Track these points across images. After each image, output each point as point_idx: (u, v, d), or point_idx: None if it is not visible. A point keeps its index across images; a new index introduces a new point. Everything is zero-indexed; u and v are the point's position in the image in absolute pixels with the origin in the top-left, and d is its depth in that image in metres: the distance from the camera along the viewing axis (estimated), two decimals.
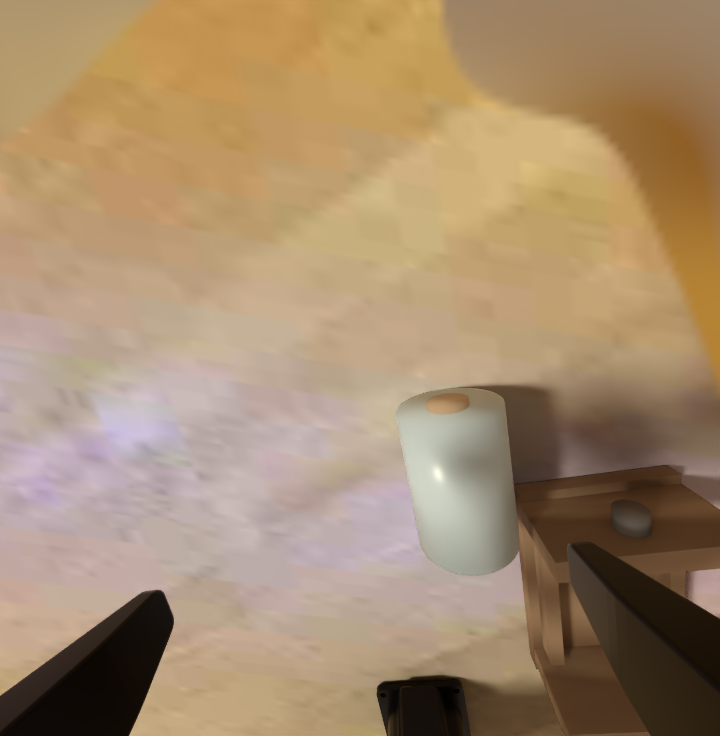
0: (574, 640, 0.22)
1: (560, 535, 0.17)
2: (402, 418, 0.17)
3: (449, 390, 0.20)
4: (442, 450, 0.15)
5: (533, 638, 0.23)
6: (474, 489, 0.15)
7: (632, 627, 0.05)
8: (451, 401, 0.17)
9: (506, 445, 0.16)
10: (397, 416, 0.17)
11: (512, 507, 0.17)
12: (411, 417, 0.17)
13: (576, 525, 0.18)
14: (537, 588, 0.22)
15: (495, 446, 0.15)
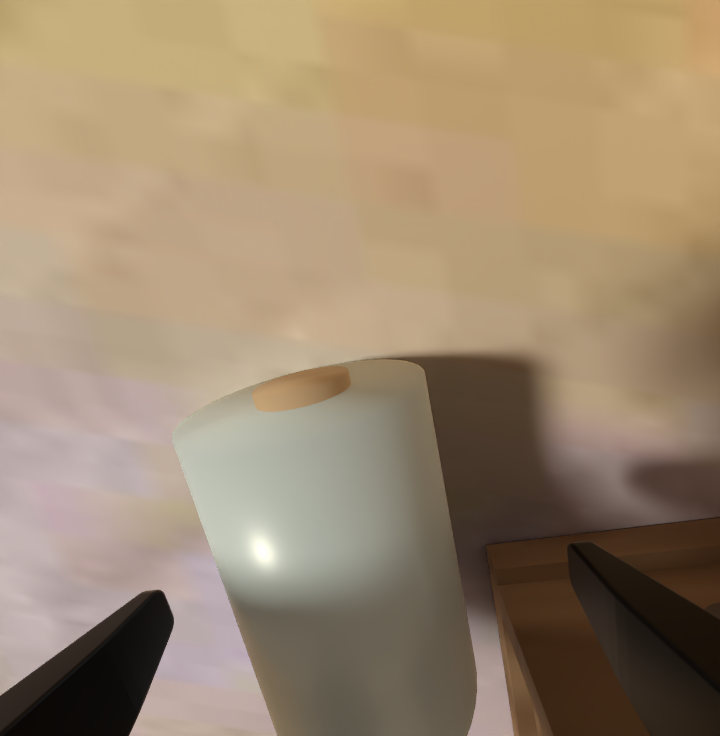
0: None
1: (585, 690, 0.07)
2: (195, 417, 0.08)
3: (349, 364, 0.10)
4: (216, 508, 0.06)
5: None
6: (306, 619, 0.06)
7: (632, 627, 0.05)
8: (304, 382, 0.07)
9: (413, 502, 0.06)
10: (197, 412, 0.08)
11: (439, 653, 0.07)
12: (210, 415, 0.07)
13: None
14: None
15: (364, 507, 0.05)
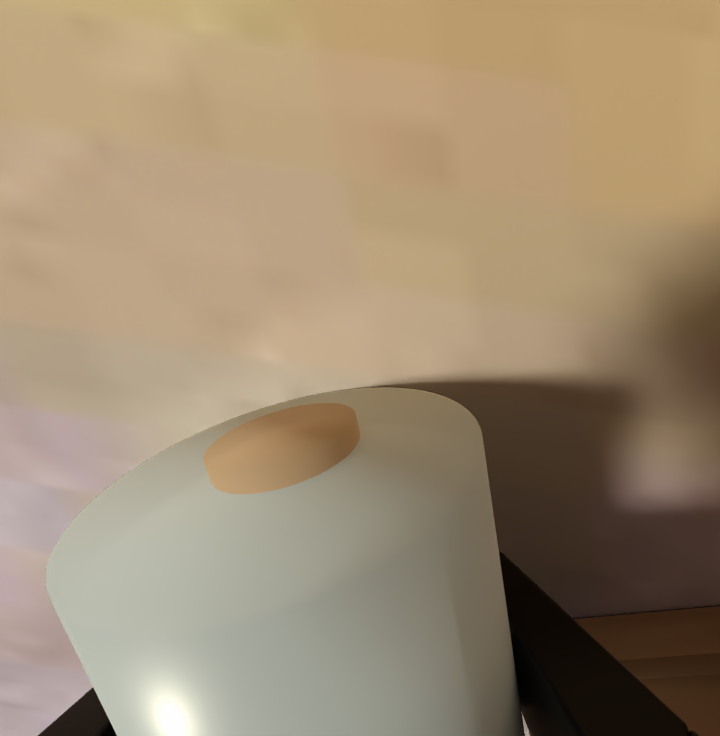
0: None
1: None
2: (103, 502, 0.05)
3: (340, 396, 0.07)
4: (135, 726, 0.03)
5: None
6: None
7: (513, 637, 0.05)
8: (290, 435, 0.05)
9: (491, 637, 0.04)
10: (109, 489, 0.05)
11: None
12: (130, 500, 0.04)
13: None
14: None
15: (434, 687, 0.03)
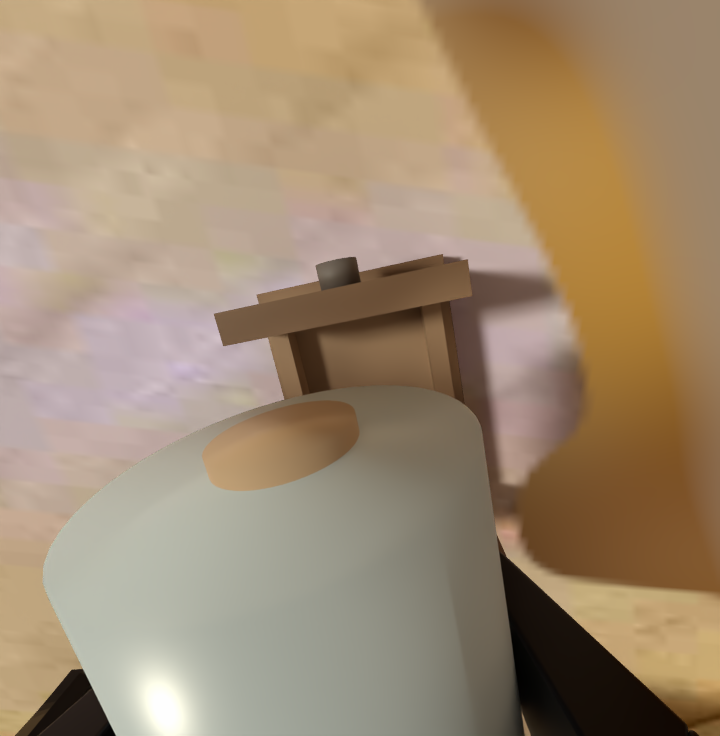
0: None
1: None
2: (101, 499, 0.05)
3: (339, 393, 0.07)
4: (133, 723, 0.03)
5: None
6: None
7: (513, 637, 0.05)
8: (289, 432, 0.05)
9: (491, 634, 0.04)
10: (107, 486, 0.05)
11: None
12: (128, 497, 0.04)
13: None
14: None
15: (432, 683, 0.03)
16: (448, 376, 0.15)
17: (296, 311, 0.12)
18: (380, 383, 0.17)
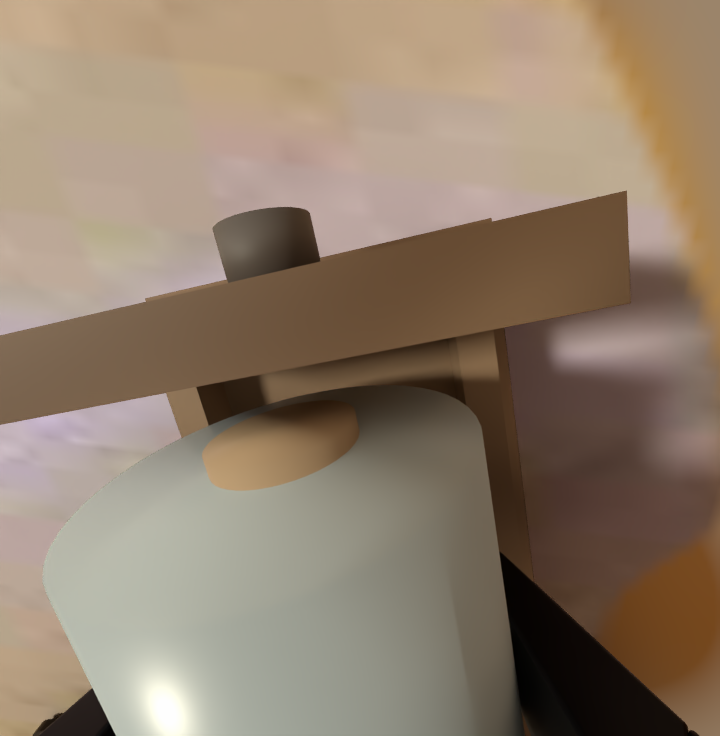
0: None
1: None
2: (101, 499, 0.04)
3: (339, 393, 0.07)
4: (132, 722, 0.03)
5: None
6: None
7: (513, 637, 0.05)
8: (289, 432, 0.05)
9: (491, 634, 0.04)
10: (107, 486, 0.05)
11: None
12: (128, 496, 0.04)
13: None
14: None
15: (432, 682, 0.03)
16: (503, 455, 0.08)
17: (137, 346, 0.04)
18: None
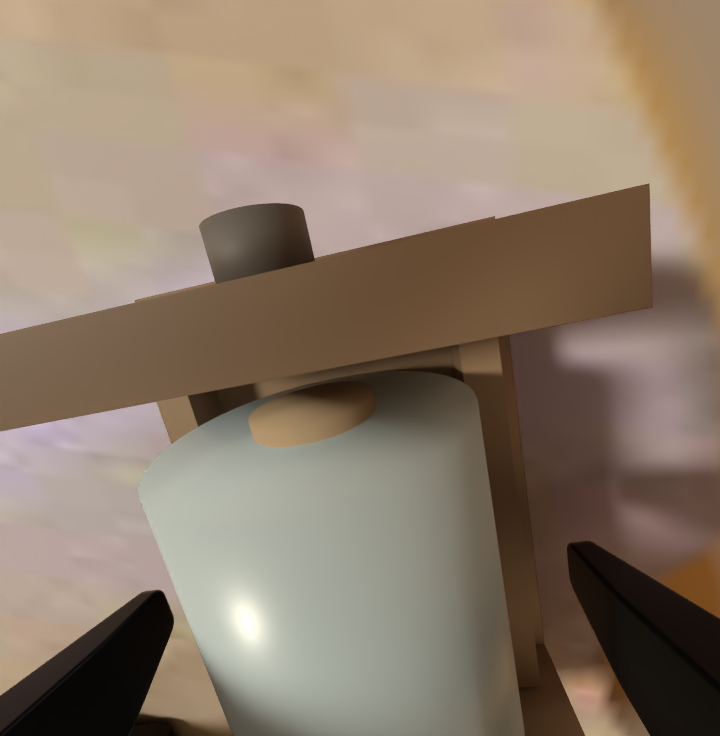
0: None
1: None
2: (161, 464, 0.05)
3: (346, 379, 0.08)
4: (237, 606, 0.04)
5: None
6: None
7: (632, 627, 0.05)
8: (320, 403, 0.06)
9: (489, 543, 0.05)
10: (160, 456, 0.06)
11: (513, 724, 0.05)
12: (187, 460, 0.05)
13: None
14: None
15: (453, 566, 0.04)
16: (507, 464, 0.08)
17: (114, 354, 0.04)
18: None
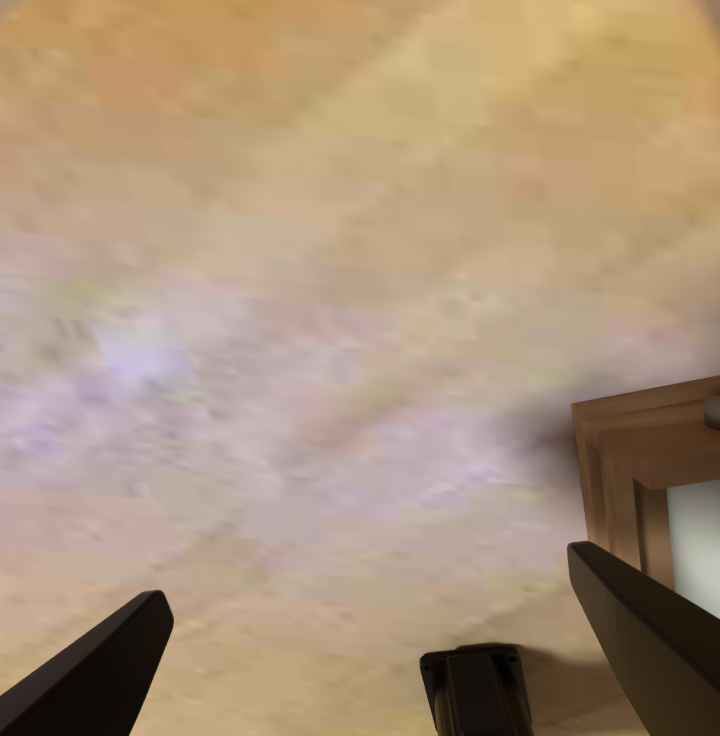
0: None
1: (644, 440, 0.15)
2: None
3: None
4: None
5: None
6: None
7: (632, 627, 0.05)
8: None
9: None
10: (711, 494, 0.14)
11: None
12: None
13: (661, 430, 0.15)
14: (606, 526, 0.19)
15: None
16: None
17: None
18: None
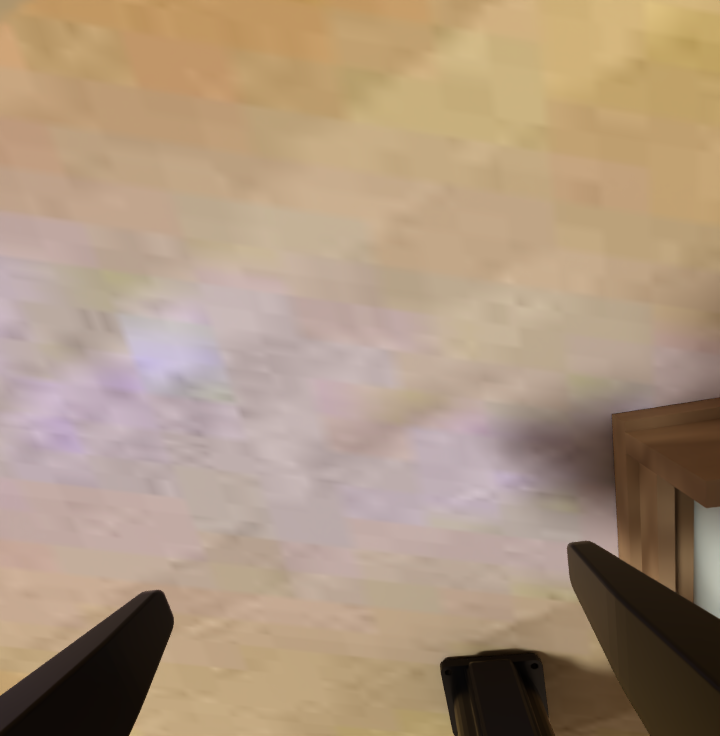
0: None
1: (696, 455, 0.14)
2: None
3: None
4: None
5: None
6: None
7: (632, 627, 0.05)
8: None
9: None
10: None
11: None
12: None
13: (712, 446, 0.15)
14: (641, 538, 0.18)
15: None
16: None
17: None
18: None
